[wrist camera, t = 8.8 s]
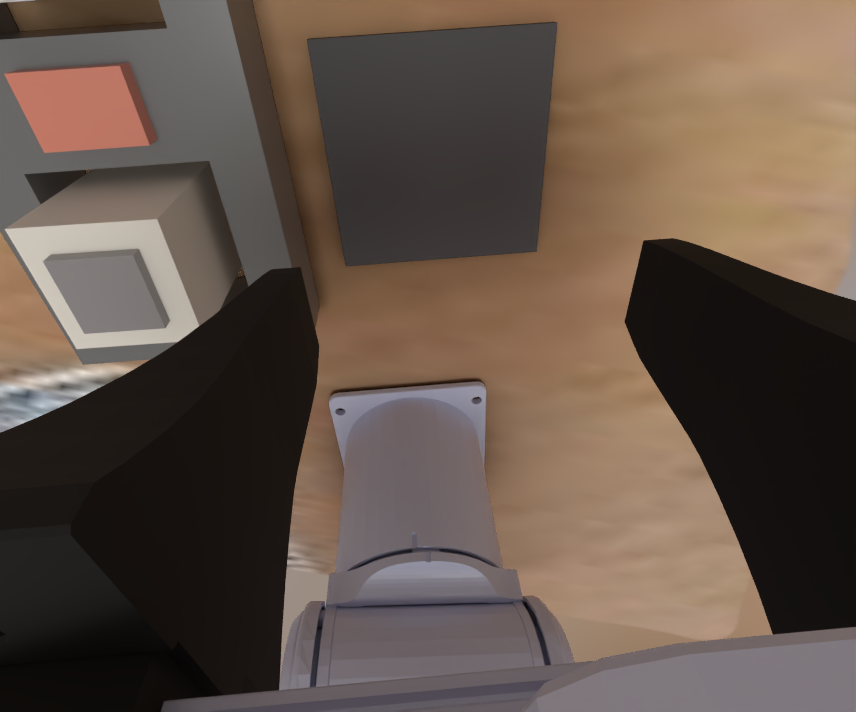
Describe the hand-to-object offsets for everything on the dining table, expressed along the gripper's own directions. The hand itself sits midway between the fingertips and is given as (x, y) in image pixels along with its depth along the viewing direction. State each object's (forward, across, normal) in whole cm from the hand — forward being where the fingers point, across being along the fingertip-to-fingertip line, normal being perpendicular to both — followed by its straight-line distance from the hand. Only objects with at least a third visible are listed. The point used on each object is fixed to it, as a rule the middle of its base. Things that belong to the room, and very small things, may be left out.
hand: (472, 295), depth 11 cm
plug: (+10, +10, +1) cm, 14 cm away
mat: (+10, 0, 0) cm, 10 cm away
